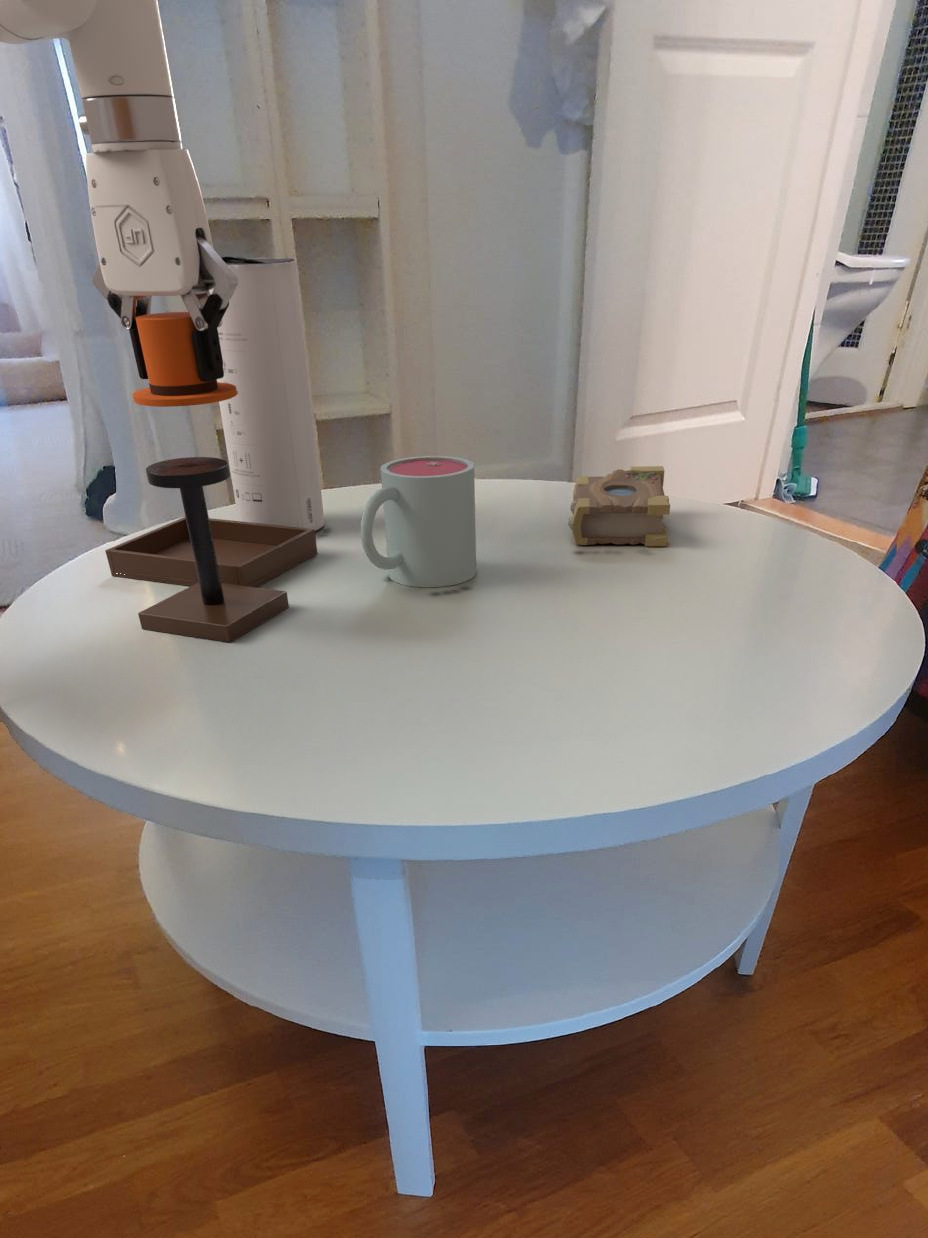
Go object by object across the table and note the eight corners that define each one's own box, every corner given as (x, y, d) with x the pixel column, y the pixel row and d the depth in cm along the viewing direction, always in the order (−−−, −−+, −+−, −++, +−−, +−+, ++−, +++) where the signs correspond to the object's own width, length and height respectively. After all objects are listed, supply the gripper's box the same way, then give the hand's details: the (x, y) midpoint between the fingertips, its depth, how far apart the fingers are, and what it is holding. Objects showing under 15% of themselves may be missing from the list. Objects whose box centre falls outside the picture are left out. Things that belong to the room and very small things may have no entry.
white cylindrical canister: (344, 526, 113) (316, 252, 96) (273, 545, 107) (230, 258, 90) (291, 511, 119) (256, 250, 102) (222, 528, 113) (172, 256, 96)
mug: (432, 554, 103) (428, 452, 97) (494, 571, 98) (493, 464, 92) (337, 585, 96) (325, 477, 89) (398, 605, 91) (390, 492, 84)
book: (667, 547, 103) (672, 497, 100) (567, 547, 104) (569, 498, 101) (658, 511, 114) (663, 466, 111) (568, 512, 115) (569, 467, 112)
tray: (111, 576, 100) (104, 550, 98) (192, 539, 110) (187, 515, 108) (245, 593, 95) (240, 566, 93) (317, 553, 104) (314, 528, 103)
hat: (112, 404, 90) (92, 321, 86) (176, 387, 97) (160, 309, 93) (197, 408, 87) (180, 322, 83) (256, 390, 94) (244, 310, 90)
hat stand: (141, 629, 88) (102, 474, 79) (205, 595, 94) (175, 450, 86) (230, 642, 84) (199, 483, 76) (289, 607, 91) (267, 457, 83)
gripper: (24, 133, 80) (86, 381, 91) (190, 122, 74) (233, 388, 86) (84, 135, 85) (136, 369, 96) (244, 125, 79) (278, 375, 91)
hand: (181, 376), depth 91 cm, fingers closed on hat, 6 cm apart
